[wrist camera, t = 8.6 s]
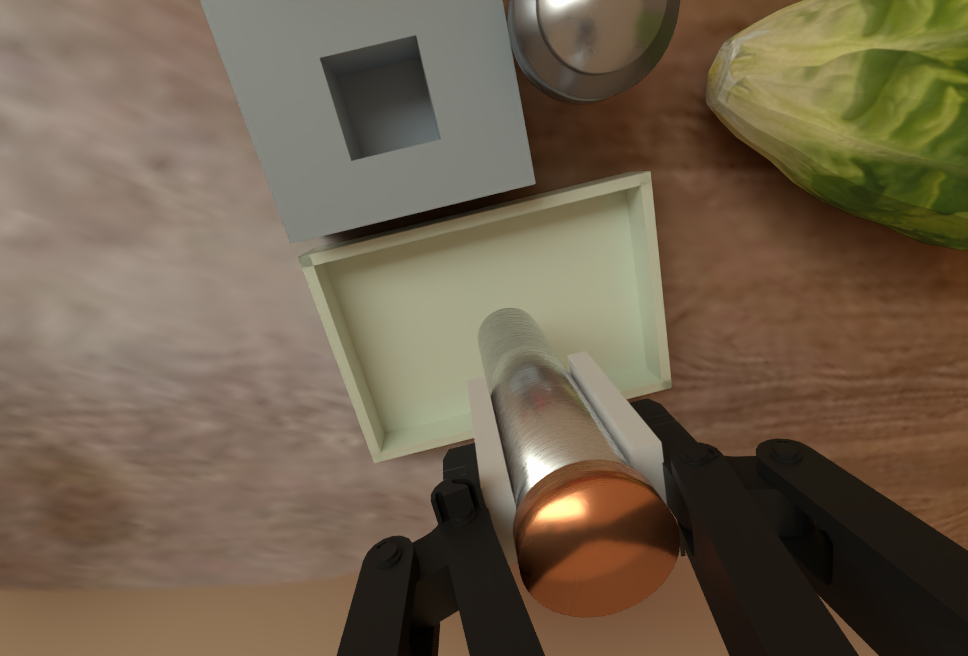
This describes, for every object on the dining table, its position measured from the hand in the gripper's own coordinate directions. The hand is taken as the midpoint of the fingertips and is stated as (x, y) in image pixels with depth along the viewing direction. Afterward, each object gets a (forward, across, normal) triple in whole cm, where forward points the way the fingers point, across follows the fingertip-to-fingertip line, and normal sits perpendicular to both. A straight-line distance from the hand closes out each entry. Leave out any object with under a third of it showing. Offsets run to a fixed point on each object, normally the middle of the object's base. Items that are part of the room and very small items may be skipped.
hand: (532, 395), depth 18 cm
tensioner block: (+11, -3, +12) cm, 17 cm away
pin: (+7, 0, 0) cm, 7 cm away
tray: (+11, 0, 0) cm, 11 cm away
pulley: (+11, +6, +14) cm, 19 cm away
